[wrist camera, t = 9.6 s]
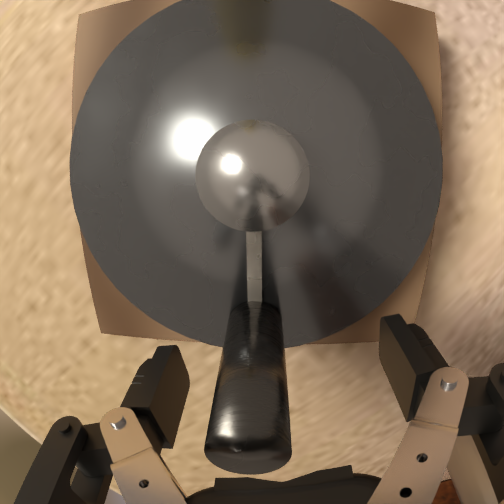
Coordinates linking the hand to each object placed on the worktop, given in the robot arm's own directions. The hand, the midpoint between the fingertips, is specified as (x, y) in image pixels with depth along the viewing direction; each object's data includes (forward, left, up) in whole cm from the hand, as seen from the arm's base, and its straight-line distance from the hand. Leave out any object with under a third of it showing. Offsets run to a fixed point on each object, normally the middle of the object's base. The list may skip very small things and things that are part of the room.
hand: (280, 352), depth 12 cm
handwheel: (+1, -6, -4) cm, 8 cm away
